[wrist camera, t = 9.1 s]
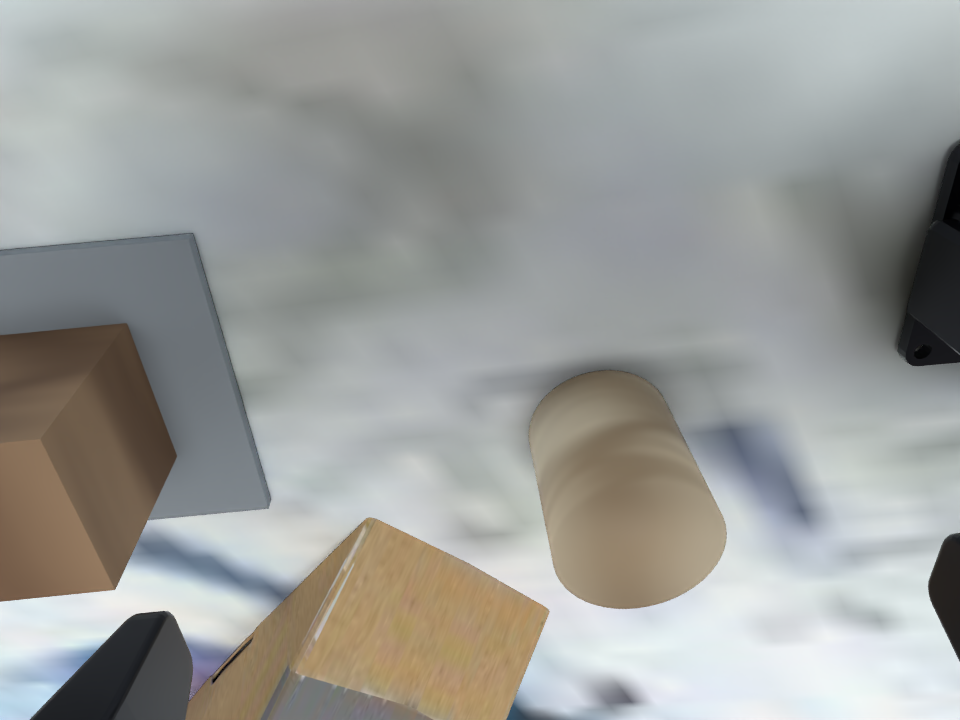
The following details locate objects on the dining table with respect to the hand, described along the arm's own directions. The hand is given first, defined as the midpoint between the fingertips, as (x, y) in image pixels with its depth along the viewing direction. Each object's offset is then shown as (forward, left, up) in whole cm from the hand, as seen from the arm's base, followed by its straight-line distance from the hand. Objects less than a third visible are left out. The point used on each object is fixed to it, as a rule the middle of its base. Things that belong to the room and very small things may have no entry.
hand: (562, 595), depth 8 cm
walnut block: (+12, +4, -12) cm, 17 cm away
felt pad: (+12, +4, -12) cm, 17 cm away
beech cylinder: (-3, +7, -12) cm, 14 cm away
